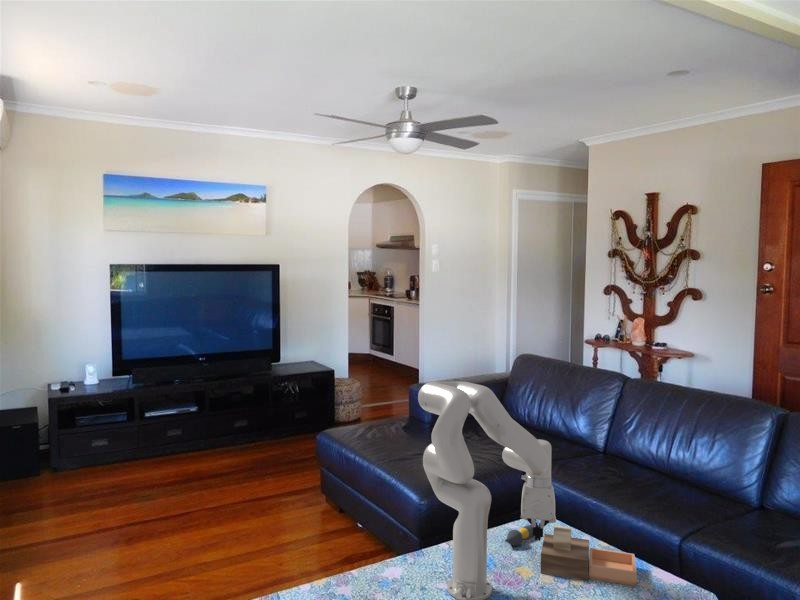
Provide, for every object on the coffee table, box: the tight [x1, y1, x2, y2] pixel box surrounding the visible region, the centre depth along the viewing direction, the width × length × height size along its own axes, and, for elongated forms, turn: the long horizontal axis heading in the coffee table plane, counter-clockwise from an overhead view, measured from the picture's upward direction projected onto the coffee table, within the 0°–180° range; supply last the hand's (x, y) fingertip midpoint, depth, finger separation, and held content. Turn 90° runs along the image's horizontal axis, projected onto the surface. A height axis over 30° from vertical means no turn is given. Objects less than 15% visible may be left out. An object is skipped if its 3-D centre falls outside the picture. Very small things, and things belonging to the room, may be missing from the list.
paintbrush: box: [504, 524, 533, 547], centre depth 202 cm, size 20×5×5 cm, turn 143°
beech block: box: [552, 525, 572, 551], centre depth 184 cm, size 5×5×5 cm
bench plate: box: [540, 533, 590, 581], centre depth 184 cm, size 14×14×6 cm
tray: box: [588, 547, 638, 587], centre depth 180 cm, size 12×13×4 cm
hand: (537, 538), depth 186 cm, fingers closed
